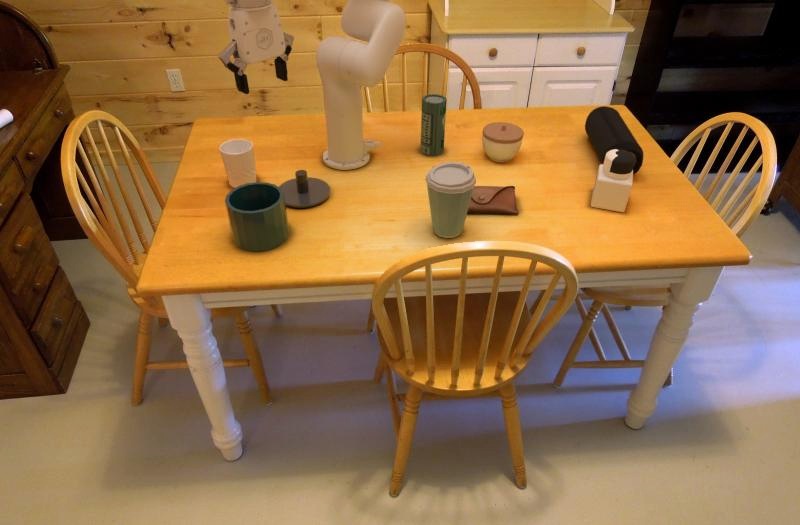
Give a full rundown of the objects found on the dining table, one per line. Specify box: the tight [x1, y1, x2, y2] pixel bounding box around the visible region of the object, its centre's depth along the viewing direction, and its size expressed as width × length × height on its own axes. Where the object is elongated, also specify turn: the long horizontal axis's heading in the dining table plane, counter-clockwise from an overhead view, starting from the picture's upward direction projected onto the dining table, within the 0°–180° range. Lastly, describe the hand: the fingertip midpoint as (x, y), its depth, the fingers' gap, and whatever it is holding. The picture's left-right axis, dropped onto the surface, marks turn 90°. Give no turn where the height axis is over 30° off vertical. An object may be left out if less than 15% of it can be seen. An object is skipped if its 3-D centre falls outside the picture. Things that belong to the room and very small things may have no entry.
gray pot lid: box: [278, 169, 331, 208], centre depth 135 cm, size 13×13×6 cm
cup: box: [224, 181, 290, 253], centre depth 121 cm, size 12×12×10 cm
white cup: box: [218, 138, 258, 189], centre depth 138 cm, size 8×8×10 cm
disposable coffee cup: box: [425, 161, 477, 239], centre depth 121 cm, size 11×11×15 cm
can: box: [419, 93, 448, 157], centre depth 150 cm, size 6×6×15 cm
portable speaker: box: [584, 105, 644, 176], centre depth 150 cm, size 26×10×10 cm, turn 178°
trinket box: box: [481, 121, 525, 163], centre depth 150 cm, size 11×11×9 cm
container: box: [590, 149, 636, 213], centre depth 132 cm, size 8×8×13 cm
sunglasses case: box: [467, 185, 519, 215], centre depth 133 cm, size 18×7×7 cm
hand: (263, 85), depth 117 cm, fingers open, 9 cm apart
